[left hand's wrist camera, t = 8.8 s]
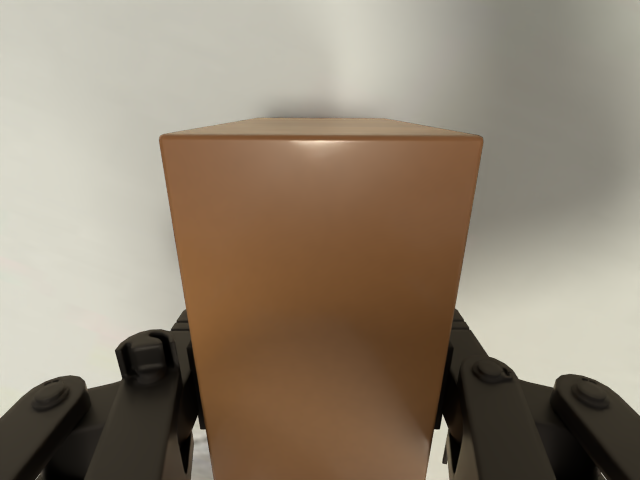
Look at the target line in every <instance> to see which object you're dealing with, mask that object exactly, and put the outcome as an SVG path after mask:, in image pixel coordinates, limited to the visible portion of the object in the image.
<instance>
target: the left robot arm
mask: <svg viewBox="0 0 640 480" xmlns="http://www.w3.org/2000/svg"><path fill="white" fill-rule="evenodd" d="M115 353H116V356H117V360H118V364H119V368H120V371H121V375H122V380H121V381H119V382H115V383H112V384H107V385H103V386H99V387H94V388H90V389H87V387H86V383H85V381H84V380H83V379H82V378H80V377H78V376H71V375H70V376H62V377H57V378H54V379H51V380H48V381H46V382H44V383H42V384H40V385H38V386H36V387H34V388H33V389H31V390H30V391H29V392H28V393H26V394H25V395H24V396H23V397H21V398H20V399H19V400H18V401H17V402H16V403H15V404H14V405H13V406H12V407H11V408H10V409H9V410H8V411H7V412H6V413H5V414H4V415H3V416H2V417H1V418H0V480H35V479H36V478H37V477H38V478H37V479H36V480H191V470H192V459H193V448H194V440H193V434H192V428H193V426H194V423H195V421H196V418H197V416H198V418H199V424H200V429H206V428H205V421H204V415H203V409H202V403H201V397H200V391H199V384H198V378H197V372H196V366H195V360H194V354H193V347H192V341H191V335H190V329H189V323H188V316H187V310H184V311H183V312H182V314H181V315H180V317H179V318H178V320H177V323H175V324H174V326H173V327H172V329H171V331H170V332H169V331H166V330H162V329H157V330H148V331H143V332H140V333H137V334H135V335H133V336H131V337H129V338H127V339H126V340H124V341H123V342H122V343H120V345H119V346H118V347H117V348H116V350H115ZM442 414H443V416H444V418H445V421H446V423H447V426H448V428H449V429H448V434H447V439H446V445H445V450H444V455H443V462H442V463H443V464H447V460H448V469H449V480H606V479H607V480H640V416H639V415H638V414H637V413H636V412H635V411H634V410H633V409H632V408H631V407H630V406H629V405H628V404H627V403H626V402H625V401H624V400H623V399H622V398H621V397H620V396H619V395H618V394H616V393H615V392H614V391H613V390H611V389H610V388H609V387H607V386H605V385H604V384H602V383H600V382H598V381H596V380H593V379H591V378H588V377H585V376H581V375H574V374H567V375H561V376H560V377H559V378H557V379H556V381H555V384H554V388H552V387H548V386H543V385H539V384H535V383H530V382H526V381H523V380H520V379H518V377H517V376H516V374H515V373H514V371H513V370H512V369H511V368H510V367H508V366H507V365H506V364H505V363H503V362H501V361H499V360H497V359H495V358H492V357H489V356H488V355H487V353H486V352H485V350H484V349H483V347H482V346H481V344H480V343H479V341H478V340H477V338H476V337H475V336H474V334H473V333H472V331H471V330H469V327H468V325H467V324H466V322H464V319H463V318H462V316H461V315H460V313H459V312H458V310H456V309H455V310H454V316H453V321H452V327H451V333H450V339H449V345H448V351H447V356H446V362H445V368H444V374H443V380H442V385H441V391H440V397H439V403H438V409H437V414H436V420H435V426H434V429H440V425H441V420H442ZM601 473H602V474H603V475H604V477H605V478H606V479H605V478H604V477H603V475H602V474H601ZM39 474H40V475H39ZM38 475H39V476H38Z"/></svg>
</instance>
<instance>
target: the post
mask: <svg viewBox="0 0 640 480" xmlns="http://www.w3.org/2000/svg"><path fill="white" fill-rule="evenodd" d="M159 143H160V150H161V156H162V162H163V168H164V174H165V180H166V187H167V193H168V199H169V205H170V211H171V218H172V224H173V230H174V236H175V242H176V248H177V255H178V261H179V267H180V273H181V279H182V286H183V292H184V298H185V304H186V310H187V316H188V323H189V329H190V335H191V341H192V347H193V354H194V360H195V366H196V372H197V378H198V384H199V391H200V397H201V403H202V409H203V415H204V421H205V428H206V434H207V440H208V446H209V452H210V459H211V465H212V471H213V477H214V480H425V478H426V473H427V467H428V461H429V455H430V449H431V443H432V438H433V432H434V426H435V420H436V414H437V409H438V403H439V397H440V391H441V385H442V380H443V374H444V368H445V362H446V356H447V351H448V345H449V339H450V333H451V327H452V321H453V316H454V310H455V304H456V298H457V292H458V287H459V281H460V275H461V269H462V263H463V258H464V252H465V246H466V240H467V234H468V229H469V223H470V217H471V211H472V205H473V199H474V194H475V188H476V182H477V176H478V170H479V165H480V159H481V153H482V147H483V138H482V137H481V136H479V135H474V134H468V133H463V132H457V131H452V130H446V129H441V128H435V127H429V126H424V125H418V124H413V123H407V122H402V121H396V120H390V119H385V118H254V119H248V120H242V121H237V122H231V123H225V124H219V125H213V126H207V127H202V128H196V129H190V130H184V131H178V132H172V133H167V134H163V135H161V136H160V137H159Z"/></svg>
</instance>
